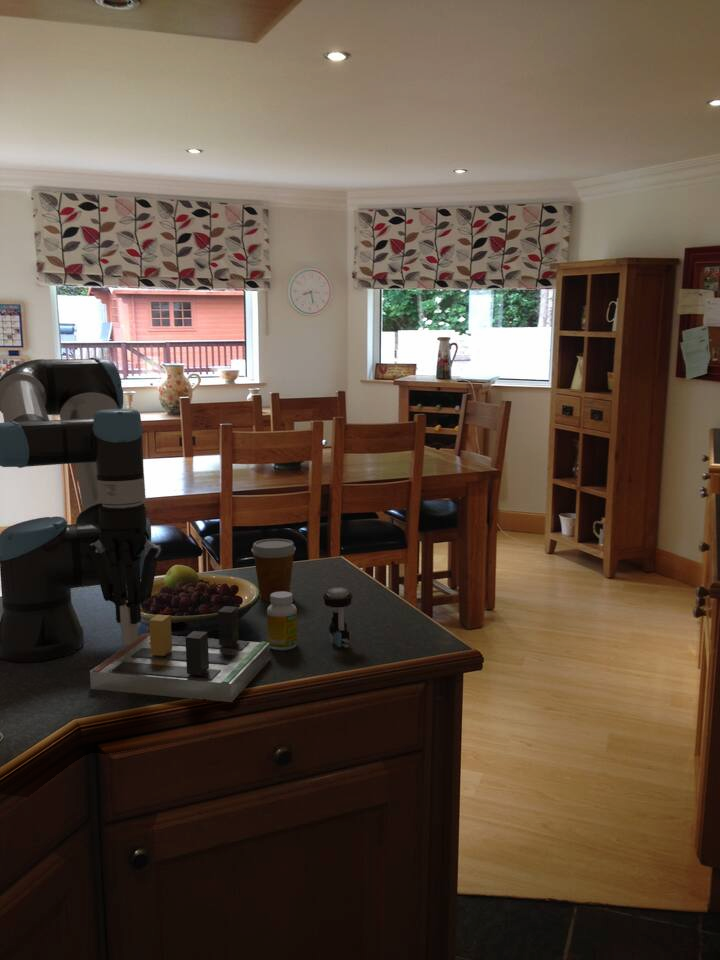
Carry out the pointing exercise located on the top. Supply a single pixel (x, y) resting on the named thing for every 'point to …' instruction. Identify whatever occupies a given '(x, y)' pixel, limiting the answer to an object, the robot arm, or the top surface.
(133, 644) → the panel
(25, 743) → the top surface
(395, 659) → the top surface
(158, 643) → the block
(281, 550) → the disposable coffee cup
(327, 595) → the push button
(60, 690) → the top surface
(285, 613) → the supplement bottle
